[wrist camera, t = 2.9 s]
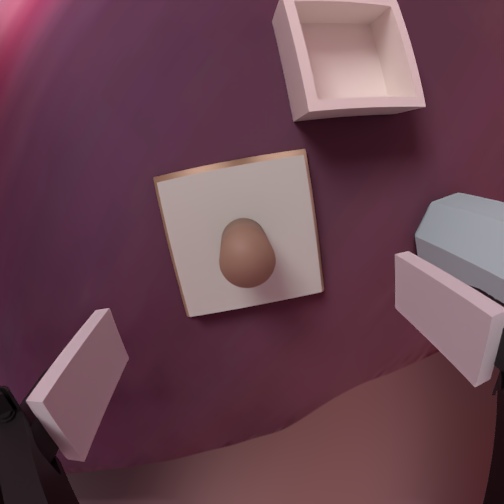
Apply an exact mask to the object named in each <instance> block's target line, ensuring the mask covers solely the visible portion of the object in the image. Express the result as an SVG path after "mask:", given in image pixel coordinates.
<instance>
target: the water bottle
mask: <svg viewBox="0 0 504 504" xmlns="http://www.w3.org/2000/svg"><path fill="white" fill-rule="evenodd" d="M415 241H416V248H417V255H418V257H420V258H422V259H424V260H425V261H427V262H429V263H431V264H433V265H434V266H436V267H438V268H440V269H441V270H443V271H445V272H447V273H448V274H450V275H452V276H453V277H455V278H457V279H459V280H460V281H462V282H464V283H465V284H467V285H469V286H473V287H476V288H479V289H481V290H483V291H484V292H486V293H488V295H491V296H493V297H494V298H495V299H497V300H499V301H501V302H502V303H504V202H500V201H496V200H491V199H487V198H482V197H478V196H473V195H468V194H463V193H456V194H453V195H450V196H447V197H444V198H441V199H439V200H436V201H433V202H431V204H430V205H429V207H428V209H427V211H426V213H425V215H424V217H423V219H422V221H421V223H420V225H419V227H418V229H417V231H416V233H415Z"/></svg>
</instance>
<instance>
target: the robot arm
mask: <svg viewBox="0 0 504 504" xmlns="http://www.w3.org/2000/svg"><path fill="white" fill-rule="evenodd" d="M395 308H396V309H397V310H398V311H399V312H400V313H401V314H402V315H403V316H404V317H405V318H406V319H407V320H408V321H409V322H410V323H412V324H413V325H414V326H415V327H416V328H417V329H418V330H419V331H420V332H421V333H422V334H423V335H424V336H425V337H426V338H427V339H428V340H429V341H430V342H431V343H432V344H433V345H434V346H435V347H436V348H437V349H438V350H439V351H440V352H441V353H442V354H443V355H444V356H445V357H446V358H447V359H448V360H449V361H450V362H451V363H452V364H453V365H454V366H455V367H456V368H457V369H458V370H459V371H460V372H461V373H462V374H463V375H464V376H465V377H466V378H467V380H468V381H469V382H470V383H472V385H473V386H474V387H477V386H478V385H480V384H482V383H484V382H486V381H488V380H489V379H490V378H491V375H492V371H493V368H494V365H495V366H496V367H497V368H499V369H500V373H499V376H498V379H497V382H496V385H495V388H494V391H493V394H492V395H495V393H496V391H497V390H498V395H497V415H496V428H495V439H494V447H493V455H492V461H491V467H490V473H489V478H488V484H487V488H486V493H485V498H484V502H483V504H504V303H502V302H501V301H499V300H497V299H495V298H494V297H493V296H491V295H488V293H486V292H484V291H483V290H481V289H479V288H476V287H473V286H469V285H467V284H465V283H464V282H462V281H460V280H459V279H457V278H455V277H453V276H452V275H450V274H448V273H447V272H445V271H443V270H441V269H440V268H438V267H436V266H434V265H433V264H431V263H429V262H427V261H425V260H424V259H422V258H420V257H418V256H416V255H415V254H413V253H411V252H409V251H407V252H402V253H398V254H395ZM128 359H129V357H128V355H127V352H126V350H125V348H124V345H123V343H122V340H121V338H120V335H119V332H118V330H117V327H116V325H115V322H114V319H113V316H112V314H111V311H110V308H107V309H100V310H95V312H94V313H93V314H92V315H91V316H90V318H89V319H88V320H87V321H86V322H85V324H84V325H83V326H82V327H81V329H80V330H79V331H78V332H77V333H76V335H75V336H74V337H73V338H72V340H71V341H70V342H69V343H68V345H67V346H66V347H65V349H64V350H63V351H62V352H61V354H60V355H59V356H58V358H57V359H56V360H55V361H54V363H53V364H52V365H51V367H49V368H48V369H47V370H46V371H44V373H43V374H42V375H41V377H40V378H39V379H38V380H39V381H37V382H36V383H35V385H34V387H32V389H31V390H30V392H29V393H28V394H27V396H26V397H25V399H24V400H23V401H22V403H21V404H20V406H19V404H18V403H17V401H16V399H15V398H14V396H13V395H12V393H11V391H10V390H9V388H8V387H6V386H0V504H79V502H78V500H77V498H76V496H75V494H74V492H73V490H72V488H71V485H70V483H69V481H68V479H67V476H66V474H65V472H64V469H63V467H62V464H61V462H60V461H59V459H58V458H57V457H56V456H55V455H56V453H57V451H58V449H60V451H61V452H62V453H63V454H64V456H65V457H66V458H67V459H69V460H76V461H85V459H86V456H87V454H88V451H89V449H90V446H91V444H92V441H93V439H94V436H95V434H96V432H97V429H98V427H99V424H100V422H101V420H102V417H103V415H104V413H105V410H106V408H107V406H108V403H109V401H110V399H111V396H112V394H113V392H114V390H115V387H116V385H117V383H118V381H119V379H120V376H121V374H122V372H123V370H124V368H125V366H126V363H127V361H128Z"/></svg>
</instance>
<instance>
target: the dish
mask: <svg viewBox="0 0 504 504" xmlns="http://www.w3.org/2000/svg"><path fill="white" fill-rule="evenodd" d="M272 24H273V28H274V32H275V36H276V41H277V45H278V49H279V54H280V58H281V63H282V67H283V72H284V77H285V82H286V86H287V91H288V96H289V101H290V107H291V112H292V117H293V122H296V121H305V120H314V119H324V118H336V117H349V116H364V115H387V114H397V113H401V112H406V111H410V110H414V109H419V108H423V107H426V105H425V100H424V95H423V90H422V85H421V81H420V77H419V72H418V68H417V64H416V61H415V57H414V53H413V49H412V46H411V42H410V39H409V36H408V33H407V29H406V26H405V23H404V20H403V17H402V14H401V11H400V8H399V6H398V3H397V0H279V2H278V5H277V8H276V11H275V14H274V17H273V20H272Z"/></svg>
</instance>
